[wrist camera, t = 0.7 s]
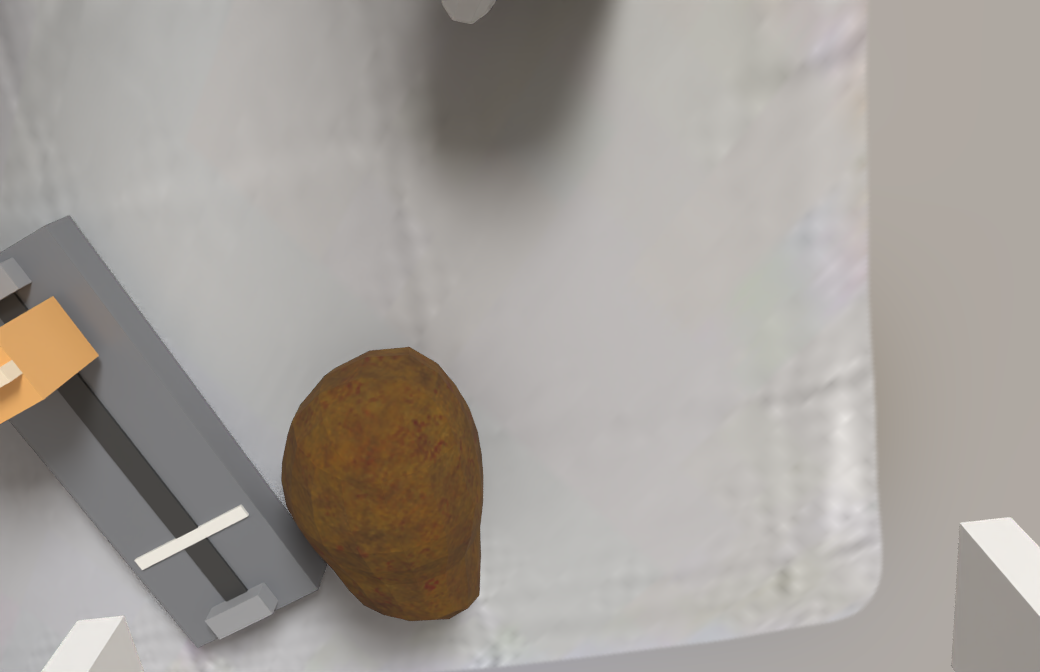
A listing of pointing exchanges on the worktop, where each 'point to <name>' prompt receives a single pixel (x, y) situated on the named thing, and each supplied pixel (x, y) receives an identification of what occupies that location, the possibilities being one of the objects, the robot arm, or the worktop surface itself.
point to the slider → (39, 356)
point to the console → (153, 453)
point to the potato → (390, 484)
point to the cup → (467, 9)
